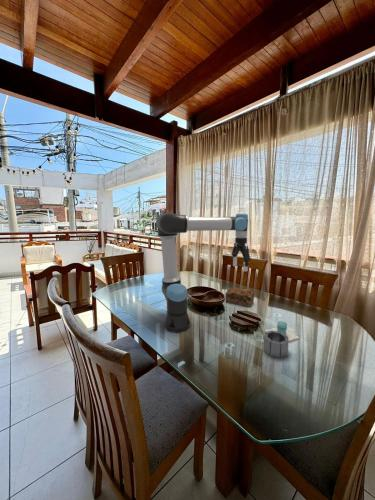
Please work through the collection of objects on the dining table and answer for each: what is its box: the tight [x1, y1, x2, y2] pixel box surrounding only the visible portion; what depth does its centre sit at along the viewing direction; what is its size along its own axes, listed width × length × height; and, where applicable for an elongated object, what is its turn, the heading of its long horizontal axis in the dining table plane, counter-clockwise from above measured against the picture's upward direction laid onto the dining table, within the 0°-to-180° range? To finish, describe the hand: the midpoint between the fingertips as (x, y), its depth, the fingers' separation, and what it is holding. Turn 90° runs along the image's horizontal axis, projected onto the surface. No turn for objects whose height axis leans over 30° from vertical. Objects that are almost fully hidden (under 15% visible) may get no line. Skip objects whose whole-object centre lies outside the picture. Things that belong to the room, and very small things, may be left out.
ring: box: [262, 330, 290, 359], centre depth 102 cm, size 10×10×7 cm
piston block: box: [264, 320, 300, 343], centre depth 114 cm, size 12×12×7 cm
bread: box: [224, 287, 255, 308], centre depth 155 cm, size 19×11×10 cm, turn 60°
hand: (239, 268), depth 146 cm, fingers open, 13 cm apart
